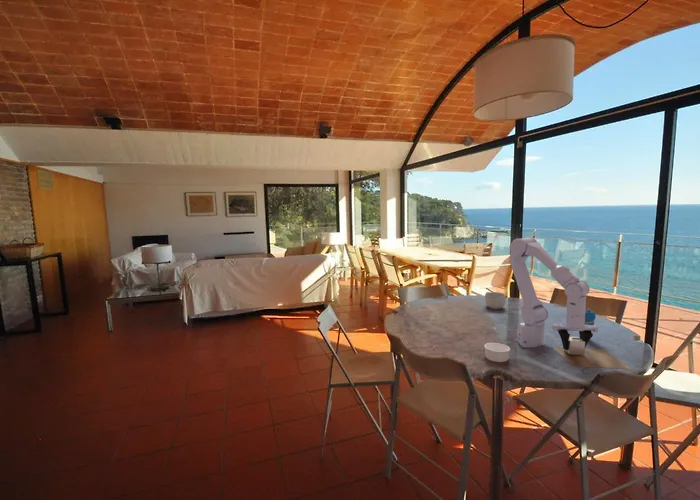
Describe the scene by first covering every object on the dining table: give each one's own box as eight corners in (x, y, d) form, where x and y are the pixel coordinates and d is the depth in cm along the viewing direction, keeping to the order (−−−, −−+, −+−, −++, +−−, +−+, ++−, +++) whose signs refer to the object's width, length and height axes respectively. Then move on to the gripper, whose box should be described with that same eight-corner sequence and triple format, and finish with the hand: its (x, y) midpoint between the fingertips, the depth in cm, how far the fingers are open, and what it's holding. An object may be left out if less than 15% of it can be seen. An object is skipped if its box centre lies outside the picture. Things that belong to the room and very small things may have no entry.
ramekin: (481, 359, 126) (481, 348, 125) (486, 351, 133) (487, 340, 133) (507, 365, 121) (508, 353, 120) (511, 356, 128) (511, 345, 128)
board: (572, 369, 116) (573, 354, 116) (552, 351, 132) (553, 337, 131) (631, 373, 113) (632, 357, 113) (604, 353, 129) (605, 339, 128)
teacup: (508, 310, 187) (509, 296, 186) (489, 310, 187) (489, 296, 186) (498, 303, 201) (498, 290, 200) (479, 303, 201) (480, 290, 200)
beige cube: (569, 354, 124) (570, 340, 123) (563, 348, 129) (563, 335, 128) (584, 354, 123) (585, 340, 123) (577, 349, 128) (578, 335, 127)
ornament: (579, 339, 144) (581, 304, 142) (594, 342, 140) (596, 306, 139) (577, 343, 140) (580, 307, 138) (593, 345, 136) (595, 309, 135)
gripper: (559, 316, 122) (557, 352, 123) (603, 318, 119) (601, 354, 121) (550, 310, 129) (549, 345, 130) (592, 312, 126) (590, 347, 128)
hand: (573, 349), depth 126 cm, fingers closed on beige cube, 5 cm apart
